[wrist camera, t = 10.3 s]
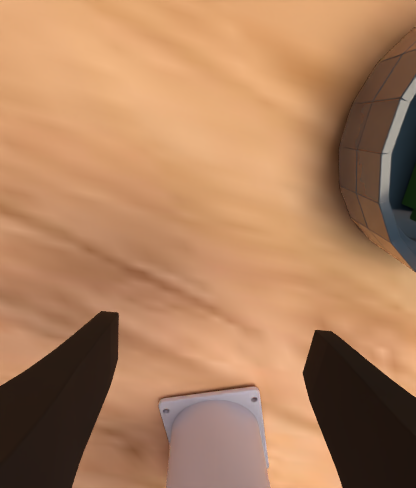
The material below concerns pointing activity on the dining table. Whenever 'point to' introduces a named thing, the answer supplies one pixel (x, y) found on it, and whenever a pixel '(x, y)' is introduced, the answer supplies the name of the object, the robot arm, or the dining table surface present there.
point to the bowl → (383, 153)
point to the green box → (411, 195)
